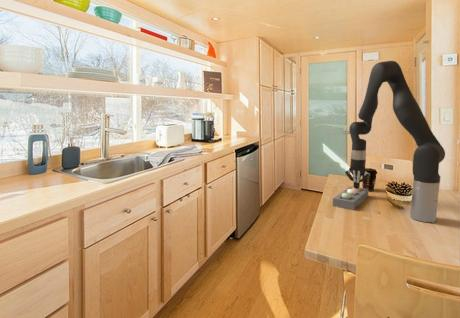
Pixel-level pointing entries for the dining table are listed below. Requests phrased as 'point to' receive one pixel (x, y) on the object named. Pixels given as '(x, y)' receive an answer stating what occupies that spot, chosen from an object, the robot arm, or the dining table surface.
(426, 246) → the dining table surface
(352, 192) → the offwhite button
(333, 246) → the dining table surface
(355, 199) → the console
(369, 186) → the coffee cup
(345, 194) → the sage button
